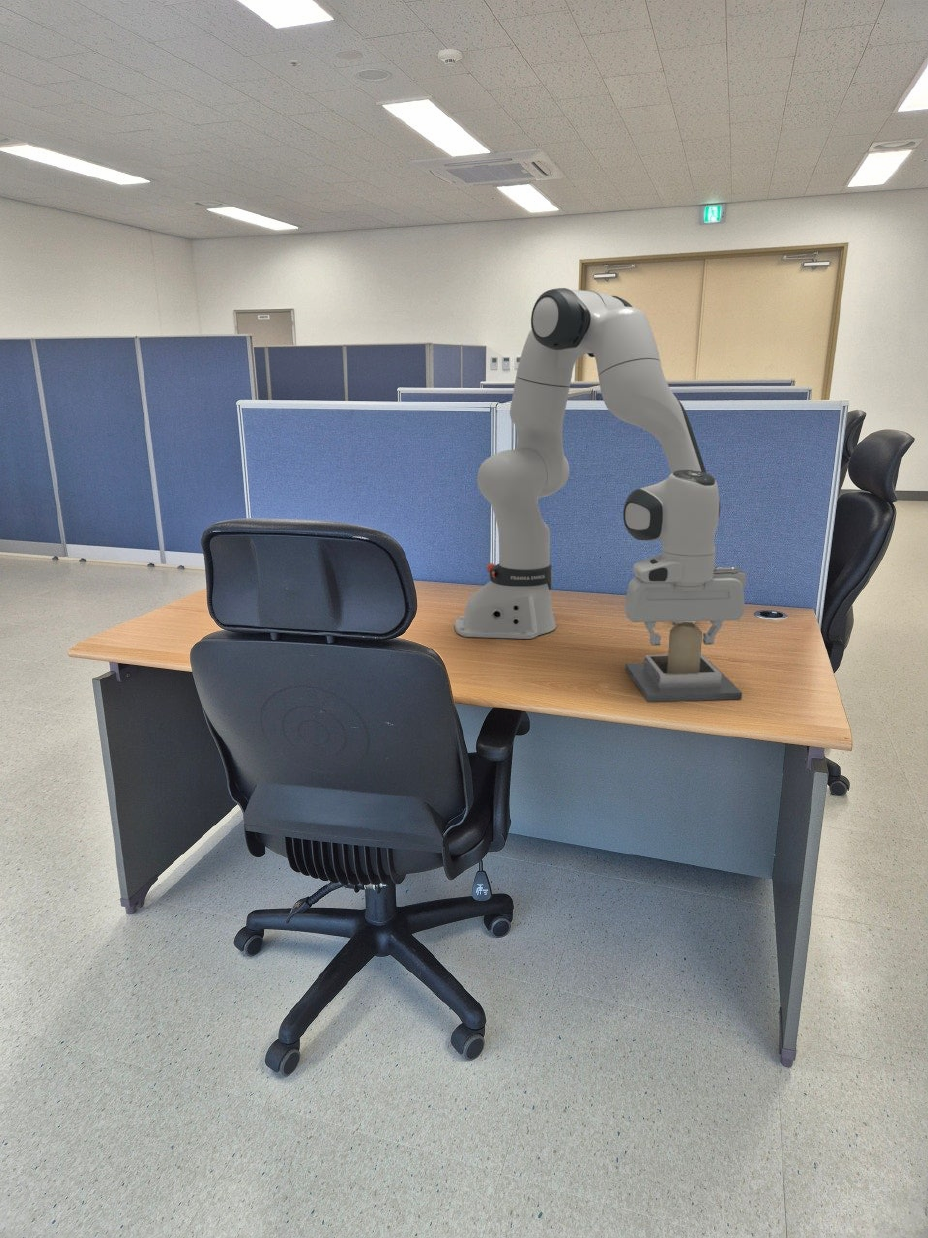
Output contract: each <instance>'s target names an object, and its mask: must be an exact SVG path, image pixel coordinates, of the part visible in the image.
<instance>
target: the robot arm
mask: <svg viewBox="0 0 928 1238" xmlns="http://www.w3.org/2000/svg"><path fill="white" fill-rule="evenodd" d="M530 327H531V329H530V330H529V332H528V334H527V337H526V338H525V341H524V342H525V343H524V345H523V347H522V352H521V354H520V358H519V362H518V366H517V371H516V377H515V380H514V381H515V382H514V386H513V392H512V396H511V397H512V399H511V403H510V410H509V416H510V419H511V421H512V423H513V424H514V425H515V430H516V448H515V449H510V450H509V449H508V450H503V451H499V452H497V453H496V454H493V455H491V456H490V457H488V458H486V459H485V460H484V461H483V462H482V463H481V465H480V467H479V468H478V471H477V476H476V477H477V485H478V486H477V487H478V489H479V491H480V493H481V495H482V496H483V497H484V498H485V499H486V500H487V501H488V502H489V504H490V505H491V509H492V511H493V514H494V516H495V521H496V525H497V526H496V527H497V533H498V563H497V564H494V562H489V563H488V564H487V565H486V570H487V573H489V580H490V581H488V582H487V583H486V584H485V585H483V586H481V588H479V589H478V590H477V591H475V592H473V593H472V594H471V595H470V596H469V598H468V599H467V602H466V605H465V608H464V614H463V615H461V616H459V617H457V618H456V620H455V622H454V629H455V632H456V633H457V634H458V635H460V636H462V637H464V638H465V637H466V638H489V639H490V638H491V639H493V638H494V639H518V640H519V639H520V640H521V639H522V640H523V639H525V640H530V639H534V638H536V637H538V636H539V635H544V634H547V633H551V632H552V631H554V630H555V629H556V628H557V624H556V620H555V617H554V613H553V606H552V596H551V589H552V586H553V569H552V568H553V567H552V565H551V563H550V561H551V559H550V558H551V530H550V527H549V525H548V524H547V523H546V522H545V521H544V520H543V516H542V514H541V509H540V505H539V499H542V498H546V497H549V496H552V495H553V494H555V493H557V492H558V491H560V490H561V489H562V488H563V487H565V485H566V483H567V481H568V480H569V477H570V464H569V460H568V459H567V457H566V456H565V453H564V444H563V443H564V442H563V441H564V440H563V439H564V437H563V429H564V428H563V427H564V426H563V425H564V419H565V413H566V408H567V402H568V398H569V392H570V389H571V388H570V387H571V384H572V378H573V371H574V368H575V364H576V363H577V360H578V359H579V358H581V356H584V355H586V354H587V355H588V357H589V358H594V359H595V363H596V369H597V375H598V382H599V388H600V391H601V396H602V397H601V398H602V400H603V402H604V405H605V406H606V409H607V410H608V411H609V412H610V413H611V414H612V415H613V416H615V417H616V418H617V419H618V420H620V421H622V422H624V423H627V424H630V425H632V426H635V427H637V428H640V429H642V430H643V431H645V432H648V433H649V434H651V435H652V436H653V437H655V438H656V439H657V440H658V442H659V443H660V445H661V446H662V449H663V451H664V455H665V458H666V460H667V465H668V467H669V469H670V470H669V471H670V474H669V475H668V477H666V478H665V479H664V480H662V481H660V482H657V483H655V484H651V485H647V486H645V487H641V488H636V489H634V490H633V491H632V492H630V494H629V495H628V496H627V497H626V500H625V502H624V506H623V511H622V514H623V515H622V517H623V523H624V527H625V530H626V531H627V532H628V534H629V535H630V536H631V537H632V538H634V539H636V540H638V541H643V542H653V541H660V542H661V543H662V547H661V554H658V555H656V556H653V557H649V558H646V559H643V560H640V561H637V562H635V563H634V564H633V573H634V575H635V576H634V577H632V579H631V580H630V581H629V584H628V586H627V591H626V594H625V595H626V596H625V602H624V603H625V604H624V614H625V616H626V617H627V619H628V620H629V621H631V622H633V623H643V624H644V626H645V628H646V630H647V632H648V633H649V644H650V646H653V647H655V646H661V641H662V640H661V639H662V636H661V635H660V634H659V633H657V632H656V633H655V631H654V629H653V628H656V624H657V622H658V623H659V622H667V623H668V622H672V621H696V622H709V623H711V626H710V627H709V630H708V631H707V632H702V643H703V644H704V645H705V646H706V645H709V646H710V645H714V644H715V638H716V637H715V636H716V635H717V634H718V632H719V631H720V630H721V628H722V627H723V621H739V620H741V618H743V616H744V615H745V592H744V589H745V588H746V587H747V584H746V583H747V575H746V572H745V571H744V570H742V569H740V568H739V566H730V567H729V566H728V567H726V566H715V562H716V549H717V548H716V545H715V537H716V536H715V535H716V532H717V530H718V526H719V519H720V515H721V509H722V508H721V502H720V501H721V500H720V493H719V487H718V486H719V485H718V483H717V479H716V478H715V477H714V476H712V475H711V474H709V473H707V471H706V467H705V465H704V461H703V458H702V455H701V453H700V450H699V445H698V443H697V440H696V436H695V434H694V430H693V428H692V424H691V422H690V418H689V416H688V414H687V412H686V409H685V407H684V405H683V403H682V402H681V401H680V400H679V399H678V398H677V397H676V396H675V394H674V393H673V391H672V389H671V388H670V386H669V384H668V382H667V380H666V377H665V374H664V371H663V367H662V363H661V358H660V357H661V356H660V353H659V349H658V346H657V345H658V344H657V342H656V339H655V335H654V332H653V329H652V327H651V325H650V321H649V319H648V318H647V315H646V313H644V312H643V311H642V310H641V309H639V308H637V307H634V306H632V305H631V303H630V302H628V301H627V300H625V299H623V298H622V297H619V296H618V295H609V294H606V293H603V292H600V291H595V290H588V289H587V290H584V289H583V290H580V289H569V288H566V287H561V288H560V287H559V288H553V289H552V288H551V289H549V290H546V291H544V292H543V293H541V294H540V295H539V296H538V298H537V300H536V301H535V303H534V305H533V308H532V310H531V316H530Z"/></svg>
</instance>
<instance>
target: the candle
mask: <svg viewBox="0 0 928 1238" xmlns="http://www.w3.org/2000/svg"><path fill="white" fill-rule="evenodd" d="M668 637H669V639H668V651H667V652H668V653H667V655H668V666H667V673H699V671H700V657H701V654H702V643H703V632H702V630H700V628H699V627H698V626H697V625H696V624H693V623H692V622H682V623H677V624H674V625H673V627H672V628H671V629H670V630H669V635H668Z"/></svg>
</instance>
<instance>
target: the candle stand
mask: <svg viewBox="0 0 928 1238" xmlns="http://www.w3.org/2000/svg"><path fill="white" fill-rule="evenodd" d="M667 666H668V654H645V655H644V656H643V662H635V663H634V662H631V663H630V662H629V663H627V662H626V663H625V671H626V673H627V674H628V676H629V677H630V679H632V681H633V682H634V684H635V686H636V687H637V688H638V690H639V692H640V693H641V695H642V696H643V697H644V699H645V701H646V702H647V703H655V702H656V703H659V702H660V703H661V702H692V701H693V702H694V701H699V702H701V701H729V700H730V701H732V700H736V701H737V700H742V696H743V693H742V691H741V690H740V689H739V688H738V687H737V686H736V685H735V684H734V683H733V682H732V681H731V680H730V679H729V678H728V677H727V676H726V675H725V674H724V673H722V672H721V670H720V669H719V668H718V667H716V666H715V665H714V663H712V662H711V661H710V660H709V659H708V658H707V657H706V656H705V655H703V653H701V657H700V671H699V673H667Z"/></svg>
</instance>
